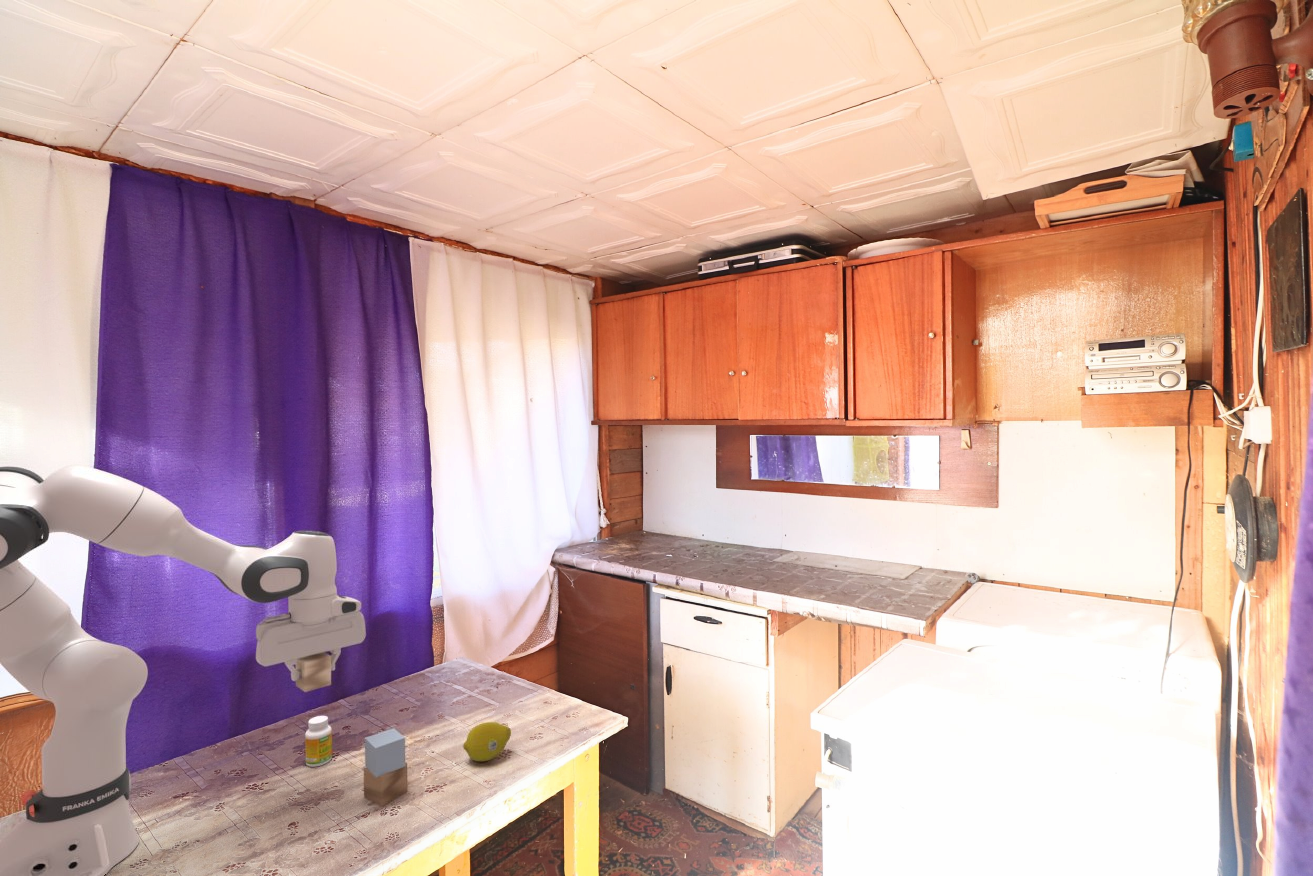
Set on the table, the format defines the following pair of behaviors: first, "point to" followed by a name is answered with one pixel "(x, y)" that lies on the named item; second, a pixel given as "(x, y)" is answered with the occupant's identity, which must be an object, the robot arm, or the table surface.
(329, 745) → the supplement bottle
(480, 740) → the lemon
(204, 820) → the table surface
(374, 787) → the bottom block
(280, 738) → the table surface
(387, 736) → the top block
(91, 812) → the robot arm
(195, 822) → the table surface
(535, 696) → the table surface
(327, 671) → the maple block
